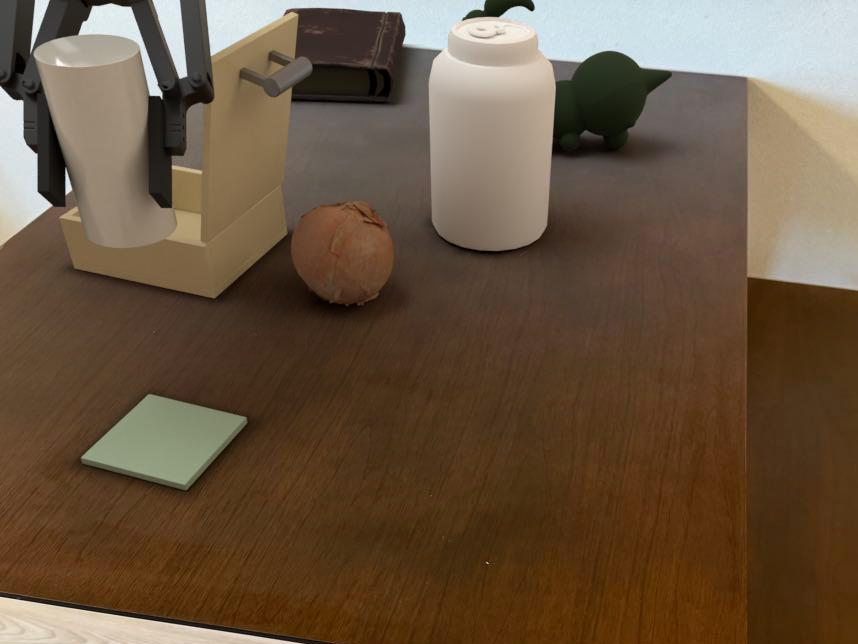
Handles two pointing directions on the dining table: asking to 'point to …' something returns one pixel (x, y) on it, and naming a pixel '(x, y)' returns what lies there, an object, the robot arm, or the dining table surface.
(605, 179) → the dining table surface
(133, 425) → the mat
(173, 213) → the canister
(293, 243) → the onion
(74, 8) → the robot arm
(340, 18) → the diary
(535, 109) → the can
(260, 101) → the lid
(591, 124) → the toy figurine
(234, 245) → the beige shallow open box
